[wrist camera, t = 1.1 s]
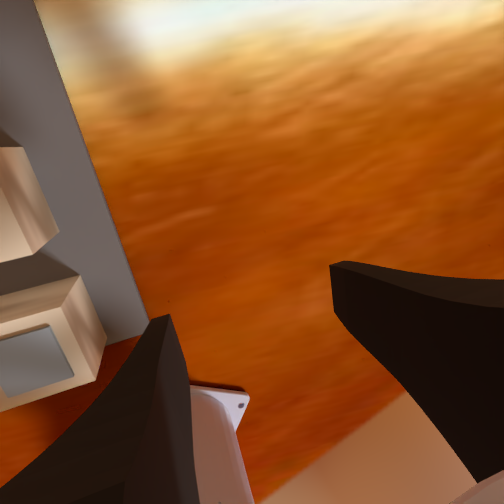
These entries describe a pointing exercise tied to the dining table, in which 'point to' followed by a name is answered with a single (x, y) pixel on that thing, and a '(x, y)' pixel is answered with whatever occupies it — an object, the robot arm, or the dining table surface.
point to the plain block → (22, 207)
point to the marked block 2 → (48, 341)
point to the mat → (60, 180)
